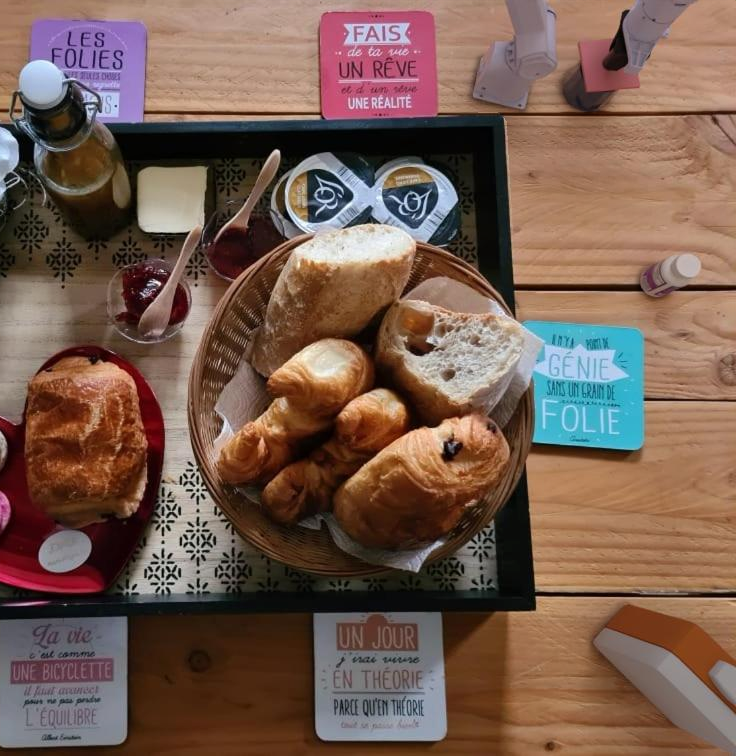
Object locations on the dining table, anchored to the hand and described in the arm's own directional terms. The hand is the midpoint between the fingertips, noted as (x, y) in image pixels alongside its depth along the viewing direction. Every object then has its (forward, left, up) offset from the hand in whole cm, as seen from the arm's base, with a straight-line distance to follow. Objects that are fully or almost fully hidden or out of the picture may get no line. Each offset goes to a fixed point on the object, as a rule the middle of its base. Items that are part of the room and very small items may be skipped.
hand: (613, 59), depth 122 cm
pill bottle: (+18, -32, -9) cm, 38 cm away
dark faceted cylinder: (0, 0, -9) cm, 9 cm away
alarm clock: (+28, -94, -9) cm, 99 cm away
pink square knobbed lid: (0, 0, -2) cm, 2 cm away
